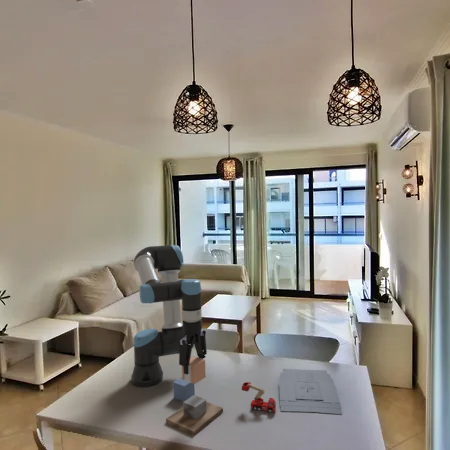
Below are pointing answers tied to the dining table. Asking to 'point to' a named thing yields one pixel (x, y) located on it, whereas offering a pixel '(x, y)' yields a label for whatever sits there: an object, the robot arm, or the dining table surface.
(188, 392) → the slate blue brick
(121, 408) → the dining table surface
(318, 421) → the dining table surface
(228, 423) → the dining table surface
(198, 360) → the terracotta brick
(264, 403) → the toy fire truck
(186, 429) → the board
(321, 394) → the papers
